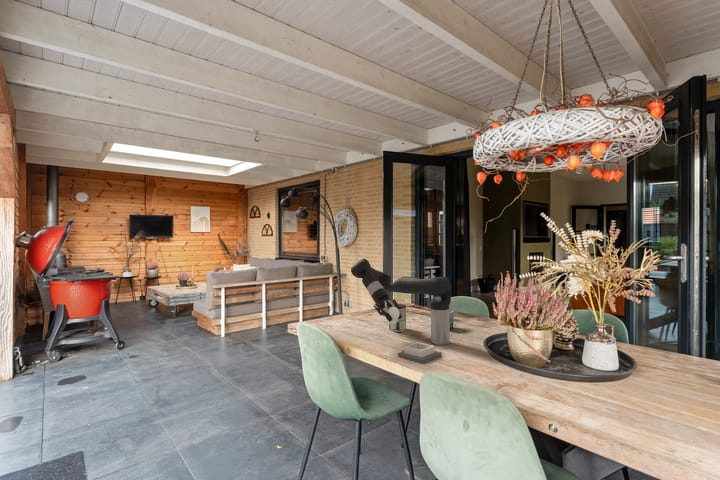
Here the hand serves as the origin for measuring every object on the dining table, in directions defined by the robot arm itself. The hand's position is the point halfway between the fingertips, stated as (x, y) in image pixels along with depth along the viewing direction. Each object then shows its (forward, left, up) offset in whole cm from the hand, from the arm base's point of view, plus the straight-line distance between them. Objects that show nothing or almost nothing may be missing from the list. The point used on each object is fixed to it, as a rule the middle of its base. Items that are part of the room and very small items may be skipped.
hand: (395, 319), depth 176 cm
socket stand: (+11, +8, -15) cm, 20 cm away
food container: (-32, +40, -15) cm, 54 cm away
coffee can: (-38, +11, -15) cm, 43 cm away
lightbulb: (-1, -1, -5) cm, 6 cm away
